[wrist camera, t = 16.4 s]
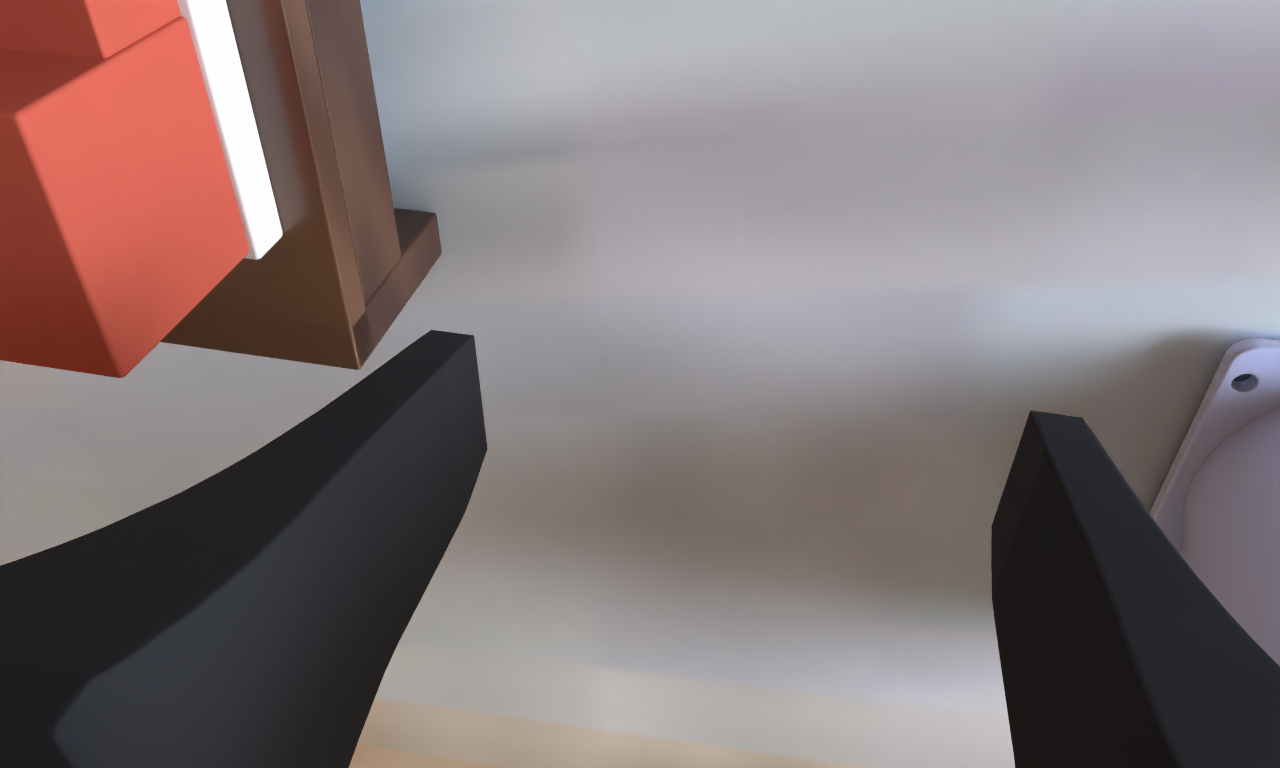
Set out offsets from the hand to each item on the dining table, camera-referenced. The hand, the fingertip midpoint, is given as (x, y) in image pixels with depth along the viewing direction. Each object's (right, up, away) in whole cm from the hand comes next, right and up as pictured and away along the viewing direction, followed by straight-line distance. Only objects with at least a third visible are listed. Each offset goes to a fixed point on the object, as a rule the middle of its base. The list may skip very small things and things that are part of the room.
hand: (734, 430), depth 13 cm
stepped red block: (-10, +7, +4) cm, 13 cm away
